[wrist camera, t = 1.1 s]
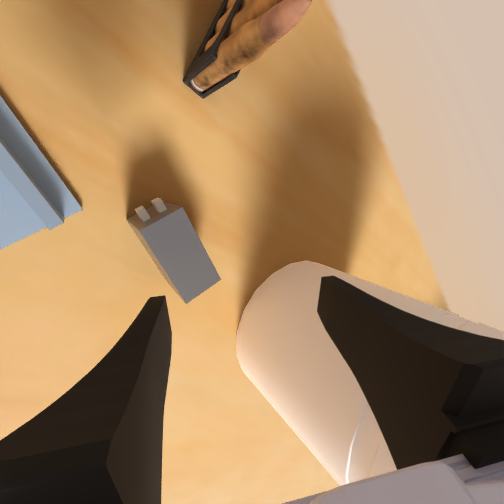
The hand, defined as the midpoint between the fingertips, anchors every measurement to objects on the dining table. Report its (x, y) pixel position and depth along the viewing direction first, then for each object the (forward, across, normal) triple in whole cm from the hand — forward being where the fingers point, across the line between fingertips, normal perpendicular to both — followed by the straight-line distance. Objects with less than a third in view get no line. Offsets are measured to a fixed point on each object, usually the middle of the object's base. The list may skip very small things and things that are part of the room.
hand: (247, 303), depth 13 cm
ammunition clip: (+16, -1, -13) cm, 21 cm away
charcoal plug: (+11, +5, +2) cm, 12 cm away
